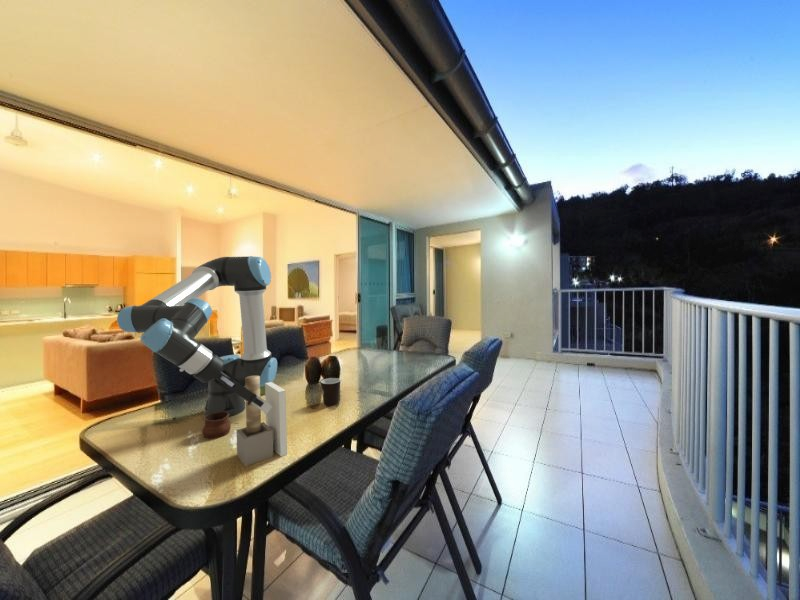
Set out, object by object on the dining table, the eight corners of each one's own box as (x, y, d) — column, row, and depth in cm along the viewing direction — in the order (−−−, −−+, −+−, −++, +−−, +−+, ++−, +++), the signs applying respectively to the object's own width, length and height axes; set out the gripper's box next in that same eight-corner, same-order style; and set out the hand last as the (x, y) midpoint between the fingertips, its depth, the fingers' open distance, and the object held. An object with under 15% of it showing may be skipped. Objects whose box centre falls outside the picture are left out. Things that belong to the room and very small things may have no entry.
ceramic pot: (223, 419, 121) (223, 402, 121) (255, 428, 114) (255, 409, 113) (174, 441, 105) (173, 421, 104) (208, 453, 97) (207, 431, 97)
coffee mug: (338, 406, 133) (338, 383, 133) (318, 406, 133) (318, 383, 133) (344, 397, 145) (343, 376, 144) (325, 397, 145) (325, 376, 144)
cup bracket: (247, 469, 87) (245, 399, 86) (235, 453, 96) (233, 389, 95) (287, 454, 95) (285, 390, 94) (272, 440, 103) (271, 381, 103)
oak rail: (243, 432, 91) (242, 379, 91) (251, 426, 95) (249, 375, 95) (256, 432, 91) (255, 379, 91) (263, 426, 95) (262, 375, 95)
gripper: (186, 369, 89) (249, 410, 100) (197, 382, 76) (267, 427, 88) (207, 349, 92) (265, 391, 104) (221, 357, 79) (285, 404, 91)
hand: (266, 407), depth 96 cm, fingers closed on oak rail, 4 cm apart
